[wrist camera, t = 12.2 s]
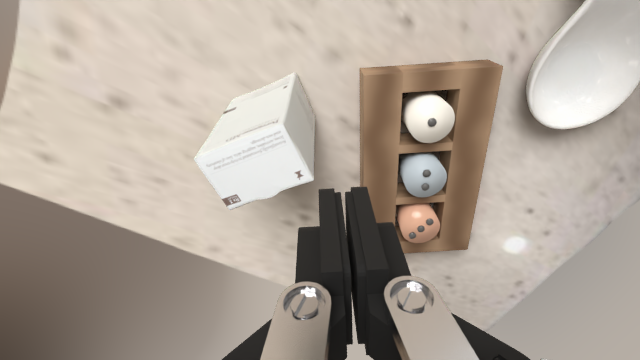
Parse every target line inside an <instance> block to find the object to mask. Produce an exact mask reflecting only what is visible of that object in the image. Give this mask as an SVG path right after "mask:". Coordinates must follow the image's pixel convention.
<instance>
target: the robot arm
mask: <svg viewBox="0 0 640 360" xmlns="http://www.w3.org/2000/svg"><path fill="white" fill-rule="evenodd" d="M345 205H346V230H345V223H344V215H343V207H342V200H341V193H340V192H337V193H335V192H334V189H319V216H320V226H317V227H301V228H299V230H298V245H297V262H296V279H295V284H293V285H291V286H289V287H288V288H286V289H285V290H284V291H283V292H282V293H281V295H280V297H279V299H278V301H277V305H276V308H275V311H274V315H273V318H272V319H271V320H270V321H268V322H267V323H266V324H265V325H263V326H262V327H261V328H260V329H259V330H257V331H256V332H255V333H254V334H252V335H251V336H250V337H249V338H248V339H246V340H245V341H244V342H243V343H241V344H240V345H239V346H238V347H237V348H235V349H234V350H233V351H232V352H230V353H229V354H228V355H227V356H226V357H224V358H223V359H222V360H345V359H346V358H347V344H352V343H353V340H352V300H353V308H354V316H355V324H356V331H357V340H358V344H365V349H366V355H369V356H370V357H371V358H373V359H374V360H530V359H529V358H528V357H526V356H525V355H523V354H522V353H520V352H519V351H517V350H515V349H514V348H512V347H510V346H508V345H507V344H505V343H503V342H501V341H500V340H498V339H496V338H494V337H493V336H491V335H489V334H487V333H486V332H484V331H482V330H480V329H479V328H477V327H475V326H474V325H472V324H470V323H468V322H467V321H465V320H463V319H461V318H460V317H458V316H456V315H454V314H453V313H451V312H450V311H449V309H448V307H447V306H446V304H445V302H444V301H443V299H442V297H441V296H440V294H439V293H438V291H437V290H436V289H435V287H434V286H433V285H432V284H430V283H429V282H428V281H426V280H424V279H421V278H419V277H414V276H411V274H410V271H409V268H408V265H407V262H406V259H405V256H404V253H403V250H402V247H401V244H400V241H399V238H398V235H397V232H396V229H395V226H394V224H393V222H383V223H376V219H375V215H374V212H373V208H372V204H371V200H370V196H369V193H368V189H367V187H351V192H345ZM351 292H352V297H351ZM540 360H548V359H540Z"/></svg>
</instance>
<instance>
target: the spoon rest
mask: <svg viewBox="0 0 640 360" xmlns="http://www.w3.org/2000/svg"><path fill="white" fill-rule="evenodd" d="M639 82H640V0H585V2H584V3H583V4H582V5H581V6H580V7H579V8H578V10H577V11H576V12H575V13H574V14H573V15H572V16H571V17H570V18H569V19H568V20H567V22H566V23H565V24H564V25H563V26H562V27H561V28H560V29H559V30H558V31H557V32H556V33H555V34H554V35H553V36H552V38H551V39H550V40H549V41H548V42H547V43H546V45H545V46H544V47H543V48H542V50H541V51H540V53H539V54H538V56H537V58H536V59H535V61H534V63H533V65H532V67H531V70H530V72H529V75H528V79H527V84H526V97H527V103H528V107H529V109H530V112H531V114H532V115H533V117H534V118H535V119H536V120H537V121H538V122H539V123H541V124H542V125H544V126H546V127H549V128H553V129H572V128H577V127H581V126H585V125H588V124H591V123H593V122H595V121H598V120H599V119H601V118H603V117H605V116H607V115H608V114H610V113H611V112H613V111H614V110H615V109H616V108H618V107H619V106H620V105H621V104H622V103H623V102H624V101H625V100H626V99H627V98H628V97H629V96H630V95H631V93H632V92H633V91H634V89H635V88H636V87H637V85H638V84H639Z"/></svg>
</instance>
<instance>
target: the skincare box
mask: <svg viewBox="0 0 640 360" xmlns="http://www.w3.org/2000/svg"><path fill="white" fill-rule="evenodd" d="M314 138H315V114H314V112H313V110H312V108H311V105H310V103H309V101H308V98H307V96H306V94H305V92H304V90H303V87H302V85H301V83H300V81H299V78H298V76H297V74H296V73H292V74H290V75H288V76H286V77H284V78H282V79H280V80H278V81H276V82H274V83H271V84H269V85H267V86H264V87H262V88H260V89H257V90H255V91H252V92H249V93H247V94H244V95H241V96H238V97H236V98H234V99H232V101H231V102H230V104H229V105H228V107H227V109H226V110H225V112H224V113H223V115H222V116H221V118H220V119H219V121H218V122H217V124H216V125H215V127H214V129H213V130H212V132H211V133H210V135H209V137H208V138H207V140H206V142H205V143H204V144H203V146H202V147H201V149H200V150H199V152H198V153H197V155H196V156H195V158H194V160H195V162H196V163H197V165H198V166H199V168H200V169H201V171H202V172H203V174H204V175H205V176H206V178H207V179H208V180H209V182H210V183H211V185H212V186H213V188H214V189H215V190H216V192H217V193H218V195H219V196H220V197H221V199H222V200H223V201H224V203H225V204H226V206H227V208H228V209H229V210H232V209H234V208H237V207H240V206H242V205H245V204H247V203H250V202H253V201H256V200H259V199H267V198H271V197H273V196H275V195H277V194H278V193H279V192H281V191H283V190H286V189H289V188H292V187H295V186H298V185H302V184H305V183H309V182H312V181H313V180H314Z"/></svg>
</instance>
